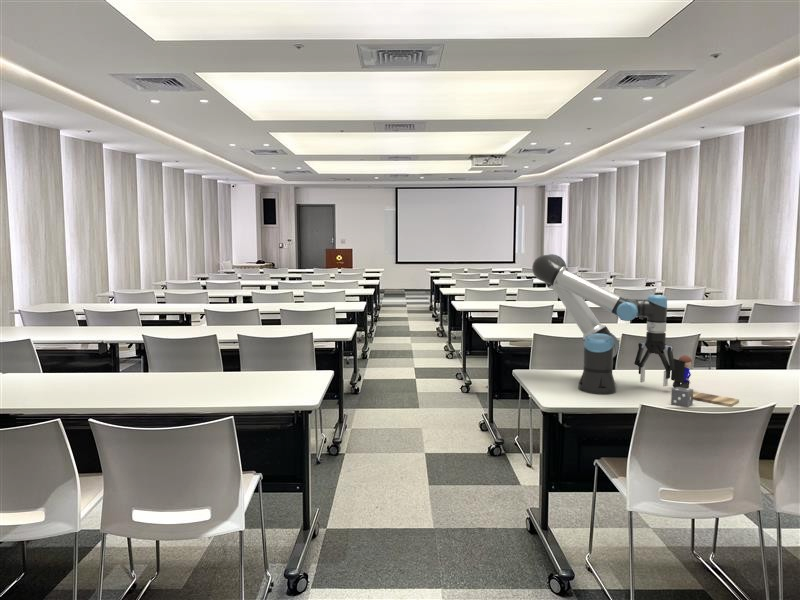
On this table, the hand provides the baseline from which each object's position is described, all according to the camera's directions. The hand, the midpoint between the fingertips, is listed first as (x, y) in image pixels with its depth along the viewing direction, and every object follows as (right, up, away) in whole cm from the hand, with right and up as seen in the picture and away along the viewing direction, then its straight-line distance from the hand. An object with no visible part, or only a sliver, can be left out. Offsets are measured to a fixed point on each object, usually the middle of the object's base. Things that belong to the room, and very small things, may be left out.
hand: (653, 383), depth 249 cm
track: (+15, -4, -15) cm, 21 cm away
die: (+1, -5, -22) cm, 23 cm away
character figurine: (+11, -3, -1) cm, 12 cm away
